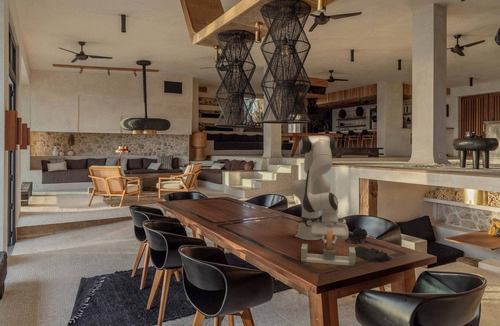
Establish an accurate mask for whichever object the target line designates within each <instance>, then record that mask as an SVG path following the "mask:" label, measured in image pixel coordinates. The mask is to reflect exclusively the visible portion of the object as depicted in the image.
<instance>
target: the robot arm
mask: <svg viewBox="0 0 500 326" xmlns="http://www.w3.org/2000/svg"><path fill="white" fill-rule="evenodd" d="M336 147H337V143H336V139H335V137H333V136H330V135H305V136H302V137H301V139H300V141H299V148H300V151H301V152H302V153H305V156H304V163H303V171H304V173H305V174H306V178H305V179H297V180H293V182H292V183H291V191H292V193H293V194H294V196H295V197H296V198H298V199H299V202H300V204H301V205H300V206H301V216H300V223H299V224H298V230H297V231H298V232H297V233H296V234H295V236H294V237H295V238H299V239H301V240H304V241H305V240H306V241H319V240H322V241H323V245H326V244H327V231H328V230H331V231H333V235H332V239H333V240H332V246H335V245H336V242H337V241H338V240H346V239H348V237H349V233H350V232H349V227H348V225H347V220H346V219H344V218H341V217H339V216H338V213H339V201H338V198H337V196H336V195H335V194H334V193H332V192H331V184H330V182H329V181H328V180H327V179H326V178H325V177H324V175H326V174H327V173H328V172H329V171H330V170H331V169H332V167H333V155H332V153H333V152H335V150H336ZM320 212H321V213H322V215H321V221H320V217H319V213H320ZM325 238H326V239H325Z"/></svg>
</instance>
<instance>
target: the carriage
mask: <svg viewBox="0 0 500 326" xmlns="http://www.w3.org/2000/svg"><path fill="white" fill-rule="evenodd" d="M332 235H333V231H331V230H328V231H327V238H326V240H327V244H325V245H326V246H323V249H322V250H323V253H322V254H323V257H334V258H335V255H336V248H335V247H333V245H332V241H333V238H332Z"/></svg>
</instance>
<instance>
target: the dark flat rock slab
mask: <svg viewBox="0 0 500 326" xmlns="http://www.w3.org/2000/svg"><path fill="white" fill-rule="evenodd" d="M354 248H355V252H356V258H360V259H362V260H364V261H366V260H367V261H366V262H369V263H375V264H376V263H383V262H388V261H391V260H392V257H391V256H389V255H388V253H387V252H384V251H380V250H379V249H376V248H374V247H371V248H368V247H365V246H361V245H359V246H356V247H354ZM348 253H349V250H348V251H347V254H348Z"/></svg>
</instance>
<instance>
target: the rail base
mask: <svg viewBox="0 0 500 326" xmlns="http://www.w3.org/2000/svg"><path fill="white" fill-rule="evenodd" d="M301 244H302V245H301V248H300V262H302V263H315V264H324V265H325V264H328V265H339V266H349V267H355V266H356V258H357V257H356V252H355V248H356V247H354V246H353V247H351V246H349V247H348V251H349V253H348V252H347V254H348V256H346V255H336V254H335V258H334V257H323V253H322V254H320V253H319V254H318V253H308V250H309V248H308V247H309V245H308V243H301Z"/></svg>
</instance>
